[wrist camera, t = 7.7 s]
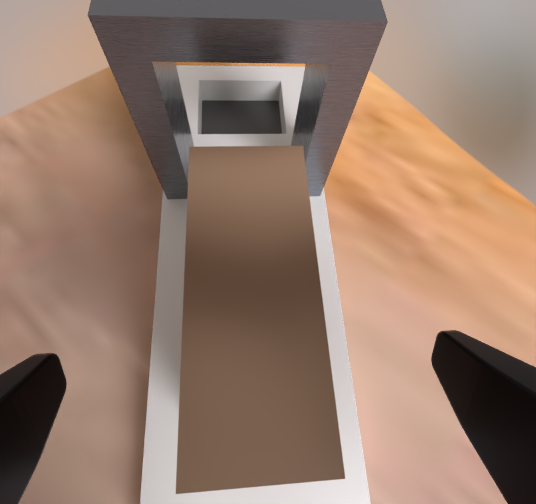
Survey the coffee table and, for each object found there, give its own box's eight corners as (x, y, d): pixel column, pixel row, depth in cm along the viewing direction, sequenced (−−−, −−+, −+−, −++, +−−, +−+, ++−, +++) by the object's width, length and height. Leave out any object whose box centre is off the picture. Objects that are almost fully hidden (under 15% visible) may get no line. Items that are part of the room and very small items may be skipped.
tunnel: (320, 196, 20) (387, 21, 10) (167, 199, 19) (88, 15, 10) (312, 145, 22) (366, -49, 12) (170, 146, 21) (104, -59, 11)
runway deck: (358, 505, 16) (373, 521, 14) (150, 526, 15) (136, 546, 13) (301, 89, 26) (305, 66, 25) (177, 88, 26) (171, 65, 24)
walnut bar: (297, 432, 15) (345, 478, 8) (211, 439, 15) (175, 494, 7) (281, 239, 19) (302, 145, 11) (212, 241, 19) (189, 146, 11)
